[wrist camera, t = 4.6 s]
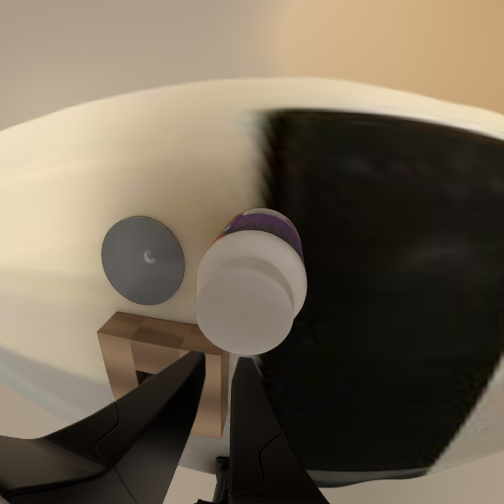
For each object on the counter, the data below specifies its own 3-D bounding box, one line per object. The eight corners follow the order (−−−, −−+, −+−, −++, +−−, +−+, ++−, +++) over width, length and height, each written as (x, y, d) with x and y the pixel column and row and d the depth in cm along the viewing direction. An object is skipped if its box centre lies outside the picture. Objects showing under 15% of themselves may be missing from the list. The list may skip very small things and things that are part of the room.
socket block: (227, 412, 26) (221, 438, 23) (133, 393, 27) (120, 415, 24) (229, 329, 23) (220, 355, 20) (116, 311, 24) (96, 331, 21)
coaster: (185, 307, 23) (183, 310, 22) (109, 295, 23) (106, 298, 23) (184, 218, 21) (181, 220, 20) (102, 214, 21) (98, 215, 21)
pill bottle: (224, 203, 20) (175, 242, 11) (304, 211, 20) (323, 257, 11) (221, 277, 22) (180, 358, 13) (295, 285, 21) (300, 374, 12)
